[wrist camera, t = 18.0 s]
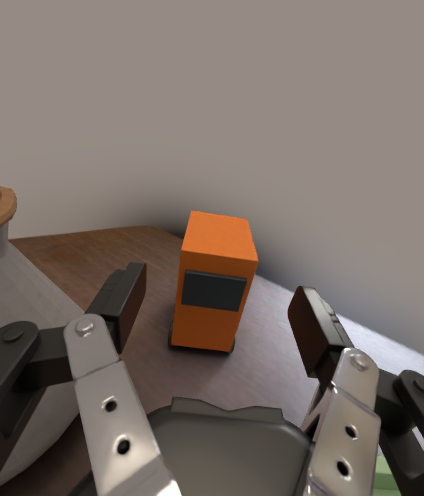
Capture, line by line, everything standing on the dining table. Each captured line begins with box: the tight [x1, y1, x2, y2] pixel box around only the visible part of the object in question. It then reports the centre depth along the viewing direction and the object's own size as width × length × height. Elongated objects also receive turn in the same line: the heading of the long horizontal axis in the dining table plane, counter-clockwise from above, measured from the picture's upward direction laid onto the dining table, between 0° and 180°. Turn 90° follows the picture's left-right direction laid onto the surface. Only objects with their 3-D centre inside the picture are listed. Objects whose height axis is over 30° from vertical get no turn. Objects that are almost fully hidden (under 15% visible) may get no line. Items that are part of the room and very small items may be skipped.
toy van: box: [168, 211, 258, 353], centre depth 19 cm, size 7×5×10 cm
